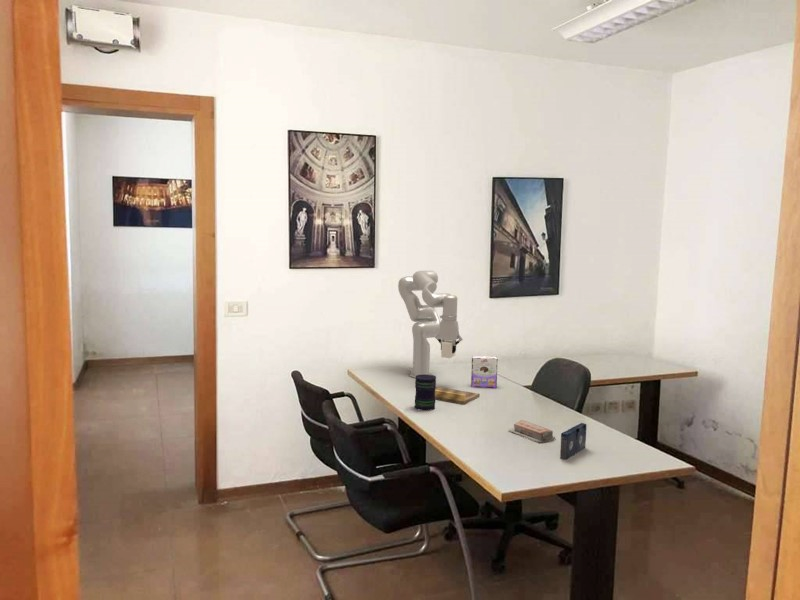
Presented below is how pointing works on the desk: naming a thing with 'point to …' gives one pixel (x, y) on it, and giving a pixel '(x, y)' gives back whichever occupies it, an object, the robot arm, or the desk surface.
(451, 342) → the cream carton
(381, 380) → the desk surface
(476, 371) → the candy box
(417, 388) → the storage jar
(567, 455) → the vhs cassette tape
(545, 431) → the packaged product
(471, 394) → the shelf board
